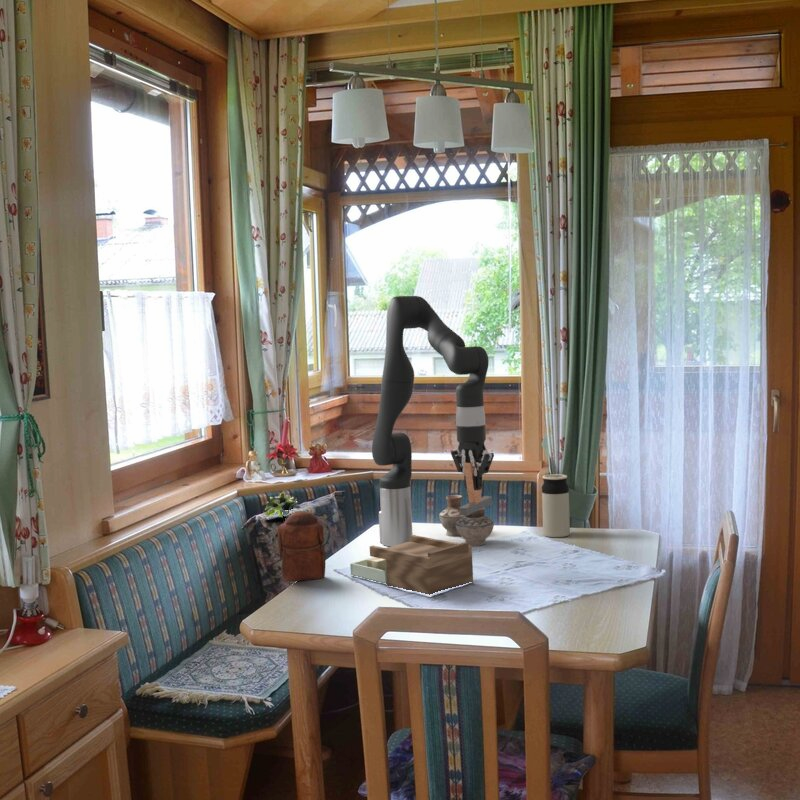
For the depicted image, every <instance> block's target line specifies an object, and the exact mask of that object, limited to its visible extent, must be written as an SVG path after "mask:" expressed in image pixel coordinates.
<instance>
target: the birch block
mask: <svg viewBox="0 0 800 800" xmlns="http://www.w3.org/2000/svg"><path fill="white" fill-rule="evenodd" d="M370 558H371V559H368V558H367V559H368V560H367V567H371V568H376V569H380V570H384V571H387V570H386V559H381V558H377V557H375V558H372V557H370Z"/></svg>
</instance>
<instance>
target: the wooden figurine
mask: <svg viewBox="0 0 800 800" xmlns="http://www.w3.org/2000/svg"><path fill="white" fill-rule="evenodd" d="M318 520H319V519H318V518H317V516H316V515H315V514H313V512H310V511H307V510H298V511H294V512H292V514H291V515H287V517H286V518H285V521H283V523H281V524H280V525H279V526H278V527H277V546H278V549H277V550H278V555H279V558H280V559H281V566H280V569H281V579H282V581H283V582H301V581H309V580H310V581H311V580H319V579H323V578H325V574H326V552H325V551H326V549H325V546H324V545H323V544H324V542H325V537H324V536H325V535H324V526H323V524H322V523H321V522H319V521H318ZM300 580H301V581H300Z"/></svg>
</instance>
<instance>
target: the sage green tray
mask: <svg viewBox="0 0 800 800" xmlns="http://www.w3.org/2000/svg"><path fill="white" fill-rule="evenodd" d="M371 558H375V557H372V556H371V557H369V558H364V559H362V560H358V561H354V562H350V576H351V575H353V576H358V577H362V578H365V579H369V580H373V581H376V582H381V583H386V584H387V571H384V570H380V569H376V568H371V567H367V560H368V559H371Z"/></svg>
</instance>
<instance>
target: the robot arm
mask: <svg viewBox="0 0 800 800" xmlns="http://www.w3.org/2000/svg"><path fill="white" fill-rule="evenodd" d="M386 310H387V311H386V332H385V333H386V334H385V337H386V338H385V352H384V364H383V370H382V377H381V383H380V397H379V398H380V400H379V405H378V412H377V419H376V424H375V428H374V433H373V438H372V442H371V443H372V445H371V446H372V447H371V455H372V459H373V461H374V463H375V464H376V465H378V466H384V467H385V466H391V465H392V466H391V469H390V470H389V471H388V472H386V474H384V475H382V476H381V477H380V478H379V482H378V485H379V498H380V499H379V501H380V510H379V512H378V525H379V526H378V527H379V530H378V531H379V543H380V544H382V545H383V546H386V547H391V546H395V545H399V544H402V543H406V542H410V536H411V535H413V517H412V515H413V514H412V498H411V497H412V495H411V494H412V493H411V479H412V467H413V466H412V463H413V461H412V459H413V457H412V456H413V455H412V452H413V451H412V444H411V440H410V437H409V436H408V435H407V433H404V432H394V431H393V430H394V427H395V424H396V422H397V420H398V418H399V416H400V415H401V414H402V412H403V410H404V409H405V408H406V407H407V405H408V404H409V401H410V400H411V398H412V395H413V389H414V383H415V371H414V367H413V364H412V363H411V361H410V358H409V357H408V355H407V353H406V350H405V347H404V330H405V329H406V330H407V329H409V330H410V329H418V328H420V329H422V330H424V331H426V332H427V340H428V343H429V345H430V346H431V348H432V349H433V350H435V352H436V353H438V354H439V355H440V356H442V359H444V362H445V363H446V365H447V367H448V370H449V371H450V372H452V373H453V374H456V375H460V376H461V375H468V379H467V380H466V381H465V382H463V383H461V384H460V383H459V385H457V386H456V387H455V389H456V390H455V396H456V397H455V398H456V399H455V400H456V413H455V423H456V441H457V442H458V446H457V449H454V450H452V451H450V455H451V457H452V460H453V463H454V465H455V468H456V470H457V472H458V473H461V474H462V475H463V477H464V479H463V481H464V487H465V489H466V490H467V484H466V477H465V470H464V462H466V461H468V462H471V463H472V467H473V473H474V490H480V491H481V490H482V488H483V475H485V474H487V473H489V471H490V468H491V465H492V463H493V461H494V458H495V454H494V453H493V452H489V451H487V448H486V446H485V442H486V440H487V431H486V413H485V408H484V405H485V404H484V387H485V383H486V378H487V373H488V369H489V364H490V363H489V355H488V353H487V350H485V348H483V347H482V346H478V345H477V346H476V345H475V346H466V343H465V341H464V339H463V338H462V337H461V336H460V335H458V334H457V333H456V332H455V331H454V330H452V329H451V328H450V327H449V326H448V325H447V324H445V322H444V321H443V320H442V319H441V317H440V316H439V314H437V312H436V311H435V310H434V309H433V307H432V306H431V305H430V303H429V302H428V301H427V300H426V298H424V297H422V296H418V295H403V296H402V295H398V296H397V295H396V296H393V297H392V298H391V299H390V301H389V302H388V306H387V309H386ZM476 462H477V464H476Z"/></svg>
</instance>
